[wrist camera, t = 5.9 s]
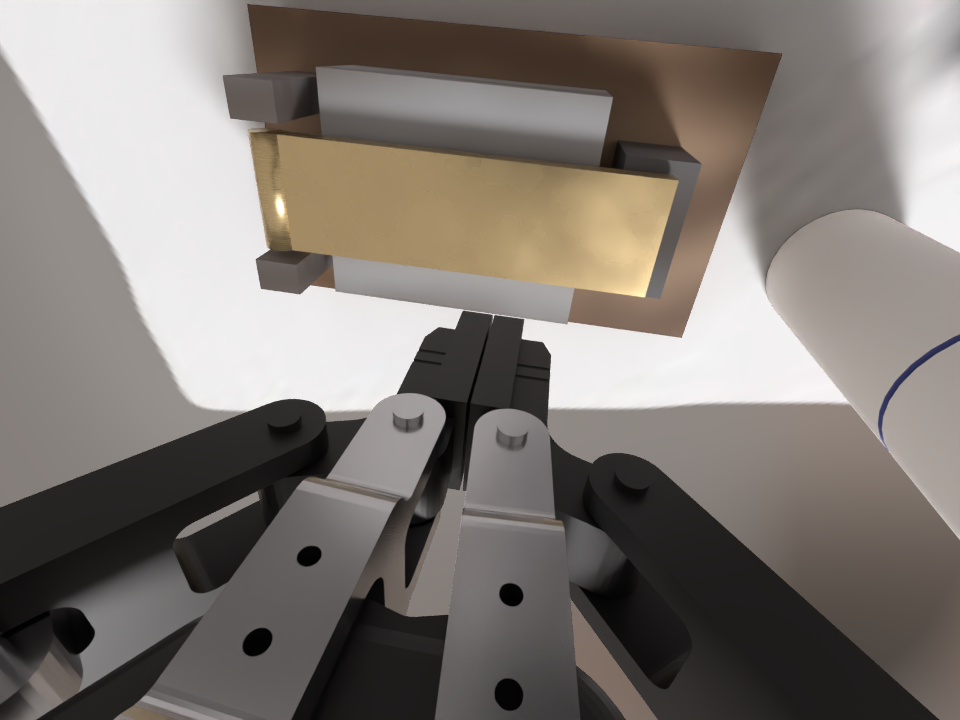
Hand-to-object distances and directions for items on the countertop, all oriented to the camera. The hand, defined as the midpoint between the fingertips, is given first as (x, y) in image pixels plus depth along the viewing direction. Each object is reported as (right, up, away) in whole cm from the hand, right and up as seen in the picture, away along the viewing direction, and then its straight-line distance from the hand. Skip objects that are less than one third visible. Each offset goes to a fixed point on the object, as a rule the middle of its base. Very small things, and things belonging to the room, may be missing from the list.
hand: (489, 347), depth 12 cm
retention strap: (-1, +7, +10) cm, 12 cm away
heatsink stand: (+1, +10, +16) cm, 19 cm away
